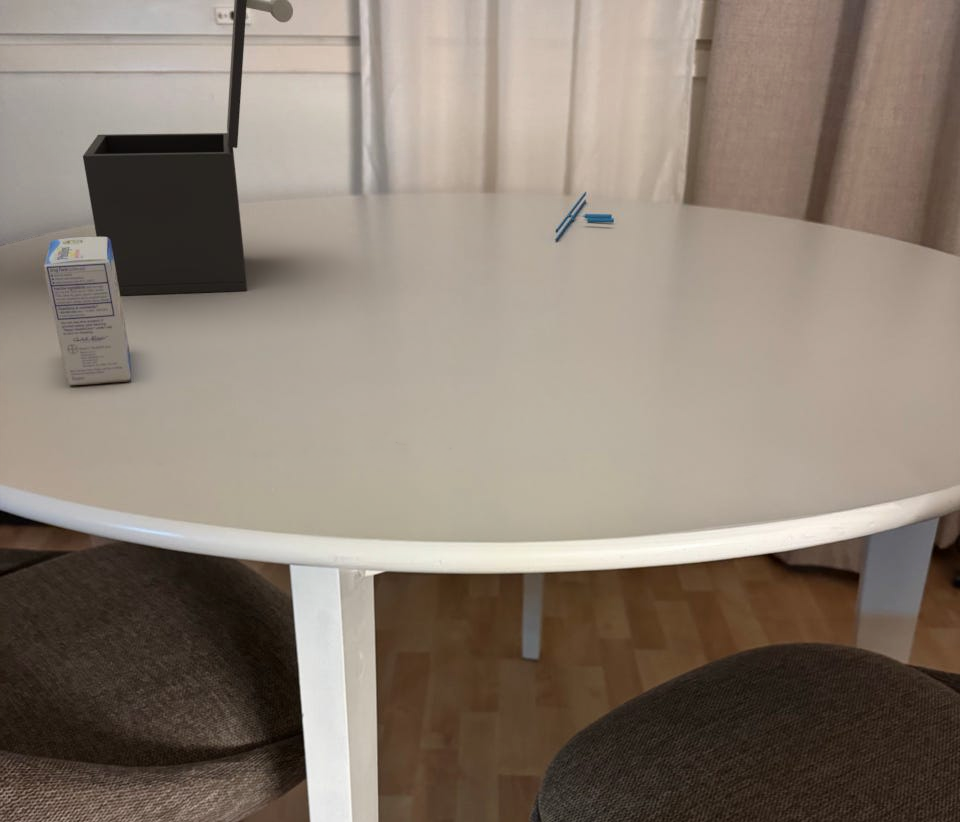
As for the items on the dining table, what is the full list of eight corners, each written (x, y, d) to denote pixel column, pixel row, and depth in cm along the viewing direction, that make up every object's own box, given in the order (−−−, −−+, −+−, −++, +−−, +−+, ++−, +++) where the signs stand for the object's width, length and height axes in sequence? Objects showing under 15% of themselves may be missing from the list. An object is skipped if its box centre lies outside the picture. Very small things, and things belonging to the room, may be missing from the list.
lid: (238, -34, 86) (298, -21, 87) (236, -34, 97) (289, -23, 98) (227, 146, 92) (283, 156, 94) (226, 127, 104) (276, 135, 105)
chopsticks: (625, 191, 138) (585, 191, 139) (602, 229, 117) (555, 228, 118) (624, 203, 139) (584, 202, 140) (601, 243, 118) (555, 242, 119)
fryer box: (106, 296, 97) (82, 155, 91) (118, 261, 108) (97, 134, 102) (247, 290, 99) (233, 153, 93) (244, 257, 110) (231, 133, 104)
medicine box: (131, 382, 77) (111, 258, 72) (66, 387, 76) (42, 262, 71) (129, 350, 83) (111, 234, 79) (70, 354, 82) (47, 237, 78)
